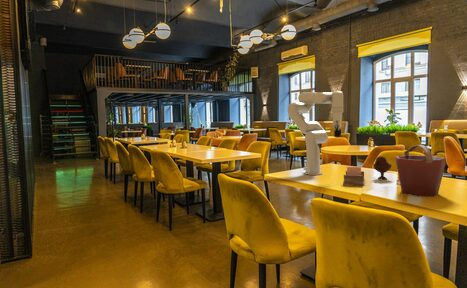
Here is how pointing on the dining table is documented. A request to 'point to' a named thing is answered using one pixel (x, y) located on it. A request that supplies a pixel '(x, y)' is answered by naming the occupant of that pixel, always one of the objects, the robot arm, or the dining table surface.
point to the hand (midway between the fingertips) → (337, 136)
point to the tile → (353, 170)
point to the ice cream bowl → (382, 166)
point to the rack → (354, 179)
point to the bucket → (420, 172)
